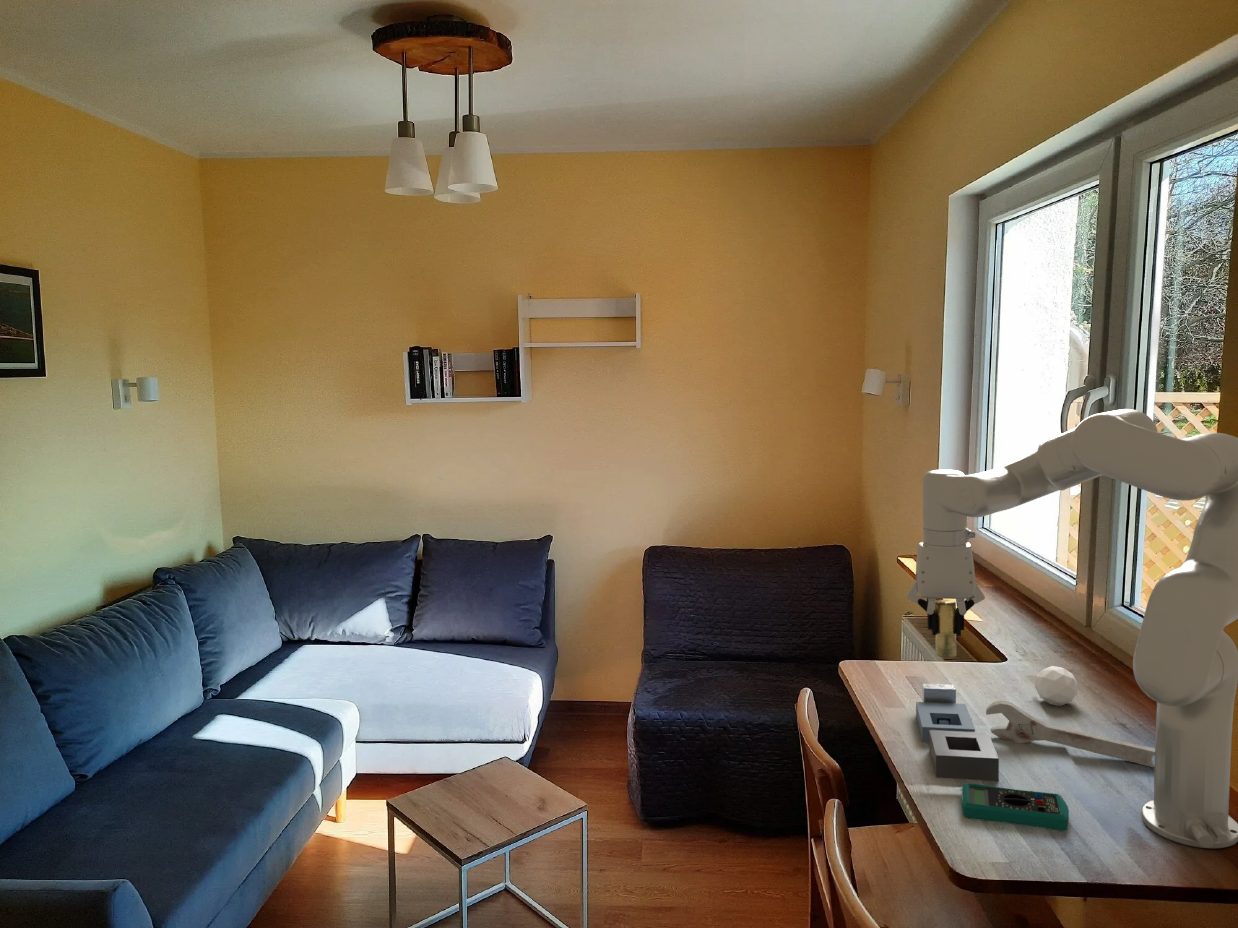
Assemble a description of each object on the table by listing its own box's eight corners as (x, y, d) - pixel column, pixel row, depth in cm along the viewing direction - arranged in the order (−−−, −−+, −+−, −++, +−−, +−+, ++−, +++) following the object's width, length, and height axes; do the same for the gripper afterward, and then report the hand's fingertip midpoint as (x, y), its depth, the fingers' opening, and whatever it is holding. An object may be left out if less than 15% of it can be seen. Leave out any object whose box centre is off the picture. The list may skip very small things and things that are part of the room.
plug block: (960, 732, 167) (960, 702, 167) (927, 730, 169) (927, 700, 168) (954, 713, 176) (954, 684, 175) (922, 711, 177) (922, 683, 176)
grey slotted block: (998, 786, 148) (998, 758, 147) (936, 782, 150) (935, 754, 149) (988, 758, 157) (988, 732, 157) (929, 755, 160) (929, 729, 159)
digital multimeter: (1071, 835, 133) (1071, 816, 133) (962, 820, 139) (962, 802, 138) (1064, 809, 140) (1065, 791, 140) (961, 797, 146) (961, 779, 146)
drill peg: (957, 657, 162) (957, 605, 160) (936, 657, 162) (936, 605, 161) (954, 651, 165) (954, 599, 164) (934, 650, 166) (934, 599, 165)
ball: (1045, 716, 179) (1020, 684, 181) (1064, 693, 184) (1038, 662, 185) (1074, 710, 173) (1047, 677, 174) (1093, 686, 177) (1066, 654, 178)
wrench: (1165, 785, 151) (982, 739, 164) (1164, 780, 152) (982, 735, 165) (1173, 742, 149) (987, 700, 162) (1172, 738, 151) (988, 696, 164)
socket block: (974, 749, 161) (974, 729, 161) (922, 747, 163) (922, 726, 163) (965, 723, 172) (965, 703, 172) (916, 720, 174) (916, 701, 174)
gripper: (989, 532, 163) (989, 627, 165) (896, 533, 166) (897, 626, 169) (997, 541, 155) (997, 640, 158) (899, 541, 159) (900, 638, 161)
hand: (945, 632), depth 163 cm, fingers closed on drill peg, 3 cm apart
